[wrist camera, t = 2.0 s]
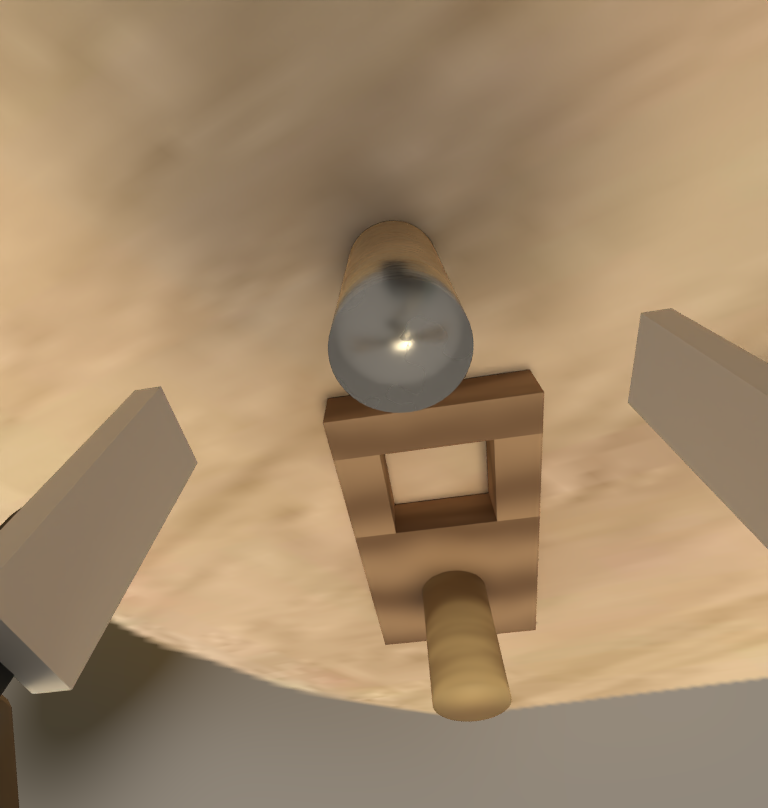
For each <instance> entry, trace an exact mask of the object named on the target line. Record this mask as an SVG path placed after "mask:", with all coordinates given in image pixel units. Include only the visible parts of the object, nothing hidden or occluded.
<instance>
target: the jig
mask: <svg viewBox="0 0 768 808" xmlns="http://www.w3.org/2000/svg"><path fill="white" fill-rule="evenodd" d="M543 409H544V391H543V390H542V388H541V387H540V385H539V383H538V382H537V380H536V379H535V377H534V375H533V374H532V372H531V371H530V370H525V371H518V372H511V373H504V374H497V375H490V376H483V377H476V378H469V379H463V380H462V382H461V383H460V384H459V385H458V387H457V388H456V389H455V390H454V391H453V392H452V393H451V394H450V395H448V396H447V397H446V398H444V399H443V400H442V401H440V402H438V403H436V404H435V405H432V406H430V407H428V408H425V409H422V410H418V411H413V412H406V413H392V412H384V411H380V410H376V409H373V408H371V407H368V406H366V405H364V404H362V403H360V402H359V401H357V400H356V399H354V398H353V397H352V396H351V395H350V396H343V397H336V398H329V399H328V400H327V405H326V410H325V415H324V420H323V425H324V428H325V432H326V435H327V439H328V443H329V446H330V450H331V453H332V457H333V460H334V464H335V467H336V471H337V474H338V478H339V482H340V485H341V489H342V492H343V496H344V499H345V503H346V506H347V510H348V514H349V517H350V521H351V524H352V528H353V531H354V535H355V538H356V542H357V545H358V549H359V553H360V556H361V560H362V563H363V567H364V570H365V574H366V577H367V581H368V585H369V588H370V592H371V595H372V599H373V602H374V606H375V609H376V613H377V616H378V620H379V624H380V627H381V631H382V634H383V638H384V641H385V645H389V644H399V643H409V642H419V641H427V648H428V659H429V670H430V680H431V691H432V702H433V708H434V710H435V711H436V712H437V713H438V714H439V715H441V716H442V717H445V718H447V719H451V720H456V721H479V720H484V719H489V718H492V717H495V716H497V715H499V714H501V713H502V712H504V711H505V710H506V709H507V708H508V707H509V706H510V704H511V700H512V699H511V694H510V690H509V685H508V681H507V677H506V673H505V668H504V664H503V660H502V655H501V651H500V647H499V643H498V638H497V634H500V633H510V632H520V631H530V630H536V604H537V576H538V548H539V520H540V493H541V465H542V437H543ZM480 441H486V447H487V468H488V490H489V493H486V494H478V495H470V496H462V497H453V498H445V499H437V500H429V501H421V502H413V503H405V504H397V505H395V504H394V499H393V494H392V489H391V484H390V479H389V474H388V469H387V464H386V459H385V454H390V453H397V452H405V451H412V450H420V449H427V448H435V447H443V446H450V445H458V444H465V443H473V442H480Z"/></svg>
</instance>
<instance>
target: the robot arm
mask: <svg viewBox="0 0 768 808" xmlns="http://www.w3.org/2000/svg"><path fill="white" fill-rule="evenodd" d="M628 403H629V404H630V405H631V406H632V407H633V409H634V410H635V411H636V412H637V413H638V414H639V415H640V416H641V417H642V418H643V419H644V420H645V421H646V422H647V423H648V424H649V425H650V426H651V427H652V428H653V429H654V431H655V432H656V433H657V434H658V435H659V436H660V437H661V438H662V439H663V440H664V441H665V442H666V443H667V444H668V445H669V446H670V447H671V448H672V449H673V450H674V451H675V453H676V454H677V455H678V456H679V457H680V458H681V459H682V460H683V461H684V462H685V463H686V464H687V465H688V466H689V467H690V468H691V469H692V470H693V471H694V472H695V473H696V475H697V476H698V477H699V478H700V479H701V480H702V481H703V482H704V483H705V484H706V485H707V486H708V487H709V488H710V489H711V490H712V491H713V492H714V493H715V494H716V495H717V496H718V498H719V499H720V500H721V501H722V502H723V503H724V504H725V505H726V506H727V507H728V508H729V509H730V510H731V511H732V512H733V513H734V514H735V515H736V516H737V517H738V518H739V520H740V521H741V522H742V523H743V524H744V525H745V526H746V527H747V528H748V529H749V530H750V531H751V532H752V533H753V534H754V535H755V536H756V537H757V538H758V539H759V540H760V542H761V543H762V544H763V545H764V546H765V547H766V548H767V549H768V363H766V362H764V361H763V360H761V359H759V358H757V357H756V356H754V355H752V354H750V353H749V352H747V351H745V350H743V349H742V348H740V347H738V346H736V345H735V344H733V343H731V342H729V341H728V340H726V339H724V338H722V337H721V336H719V335H717V334H715V333H714V332H712V331H710V330H708V329H707V328H705V327H703V326H701V325H700V324H698V323H696V322H694V321H693V320H691V319H689V318H687V317H686V316H684V315H682V314H681V313H679V312H677V311H675V310H674V309H672V308H670V309H663V310H657V311H650V312H644V313H641V316H640V323H639V330H638V337H637V344H636V351H635V358H634V364H633V371H632V378H631V385H630V392H629V399H628ZM196 465H197V461H196V458H195V456H194V454H193V452H192V450H191V448H190V446H189V444H188V442H187V440H186V438H185V436H184V434H183V431H182V429H181V427H180V425H179V423H178V421H177V419H176V417H175V415H174V413H173V411H172V409H171V406H170V404H169V402H168V400H167V398H166V396H165V394H164V392H163V390H162V388H161V387H154V388H148V389H141V390H135V391H134V392H133V393H132V394H131V395H130V396H129V397H128V398H127V399H126V400H125V401H124V402H123V403H122V404H121V405H120V407H119V408H118V409H117V410H116V411H115V412H114V413H113V414H112V415H111V416H110V417H109V418H108V419H107V420H106V421H105V422H104V423H103V424H102V425H101V426H100V427H99V428H98V429H97V430H96V431H95V432H94V433H93V435H92V436H91V437H90V438H89V439H88V440H87V441H86V442H85V443H84V444H83V445H82V446H81V447H80V448H79V449H78V450H77V451H76V452H75V453H74V454H73V455H72V456H71V457H70V458H69V459H68V460H67V461H66V463H65V464H64V465H63V466H62V467H61V468H60V469H59V470H58V471H57V472H56V473H55V474H54V475H53V476H52V477H51V478H50V479H49V480H48V481H47V482H46V483H45V484H44V485H43V486H42V487H41V488H40V489H39V490H38V492H37V493H36V494H35V495H34V496H33V497H32V498H31V499H30V500H29V501H28V502H27V503H26V504H25V505H24V506H23V507H22V508H20V509H19V510H18V511H16V512H15V513H13V514H12V515H11V516H10V517H9V518H8V519H7V520H6V521H5V522H4V523H3V524H2V525H1V526H0V808H19V799H18V786H17V772H16V759H15V745H14V733H13V719H12V707H11V705H10V703H9V701H8V699H6V698H5V697H4V696H3V695H2V693H3V692H4V690H5V689H6V687H7V686H8V684H9V683H10V681H11V680H12V678H13V677H15V678H16V679H17V680H18V681H19V682H20V683H21V684H22V685H23V686H25V687H26V688H27V689H28V690H29V691H30V692H31V693H32V694H36V693H45V692H55V691H65V690H72V688H73V686H74V685H75V683H76V681H77V679H78V677H79V675H80V674H81V672H82V670H83V668H84V666H85V665H86V663H87V661H88V659H89V657H90V656H91V654H92V652H93V650H94V649H95V647H96V645H97V643H98V641H99V639H100V638H101V636H102V634H103V632H104V630H105V629H106V627H107V625H108V623H109V621H110V620H111V618H112V616H113V614H114V612H115V611H116V609H117V607H118V605H119V603H120V602H121V600H122V598H123V596H124V594H125V593H126V591H127V589H128V587H129V585H130V584H131V582H132V580H133V578H134V576H135V575H136V573H137V571H138V569H139V567H140V566H141V564H142V562H143V560H144V558H145V557H146V555H147V553H148V551H149V549H150V548H151V546H152V544H153V542H154V540H155V539H156V537H157V535H158V533H159V531H160V530H161V528H162V526H163V524H164V522H165V521H166V519H167V517H168V515H169V513H170V512H171V510H172V508H173V506H174V504H175V503H176V501H177V499H178V497H179V495H180V494H181V492H182V490H183V488H184V486H185V485H186V483H187V481H188V479H189V477H190V476H191V474H192V472H193V470H194V468H195V466H196Z"/></svg>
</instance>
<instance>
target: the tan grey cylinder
mask: <svg viewBox="0 0 768 808" xmlns="http://www.w3.org/2000/svg"><path fill="white" fill-rule="evenodd" d="M328 355H329V361H330V365H331V368H332V371H333V373H334V375H335V377H336V379H337V380H338V382H339V383H340V385H341V386H342V387H343V388H344V390H345V391H346V392H347V393H348V394H350V395H351V396H352V397H353V398H354V399H356V400H357V401H359V402H360V403H362V404H364V405H366V406H368V407H371V408H373V409H376V410H380V411H384V412H392V413H406V412H413V411H418V410H422V409H425V408H428V407H430V406H432V405H435V404H436V403H438V402H440V401H442V400H443V399H444V398H446V397H447V396H448V395H450V394H451V393H452V392H453V391H454V390H455V389H456V388H457V387H458V385H459V384H460V383H461V382H462V380H463V378H464V377H465V375H466V373H467V371H468V369H469V367H470V363H471V360H472V355H473V334H472V330H471V326H470V323H469V321H468V319H467V316H466V314H465V312H464V310H463V308H462V306H461V304H460V301H459V299H458V297H457V295H456V293H455V291H454V289H453V287H452V284H451V282H450V280H449V278H448V276H447V274H446V272H445V270H444V267H443V265H442V263H441V261H440V259H439V257H438V255H437V253H436V250H435V248H434V246H433V244H432V243H431V241H430V239H429V238H428V237H427V236H426V234H425V233H423V232H422V231H421V230H420V229H418V228H417V227H415V226H413V225H411V224H409V223H406V222H402V221H384V222H380V223H378V224H375V225H373V226H371V227H369V228H368V229H367V230H365V231H364V232H363V233H362V234H361V235H360V236H359V237H358V238H357V240H356V241H355V243H354V244H353V246H352V248H351V251H350V254H349V258H348V262H347V266H346V270H345V274H344V278H343V282H342V286H341V290H340V294H339V298H338V302H337V306H336V310H335V314H334V319H333V323H332V327H331V331H330V335H329V341H328Z"/></svg>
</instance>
